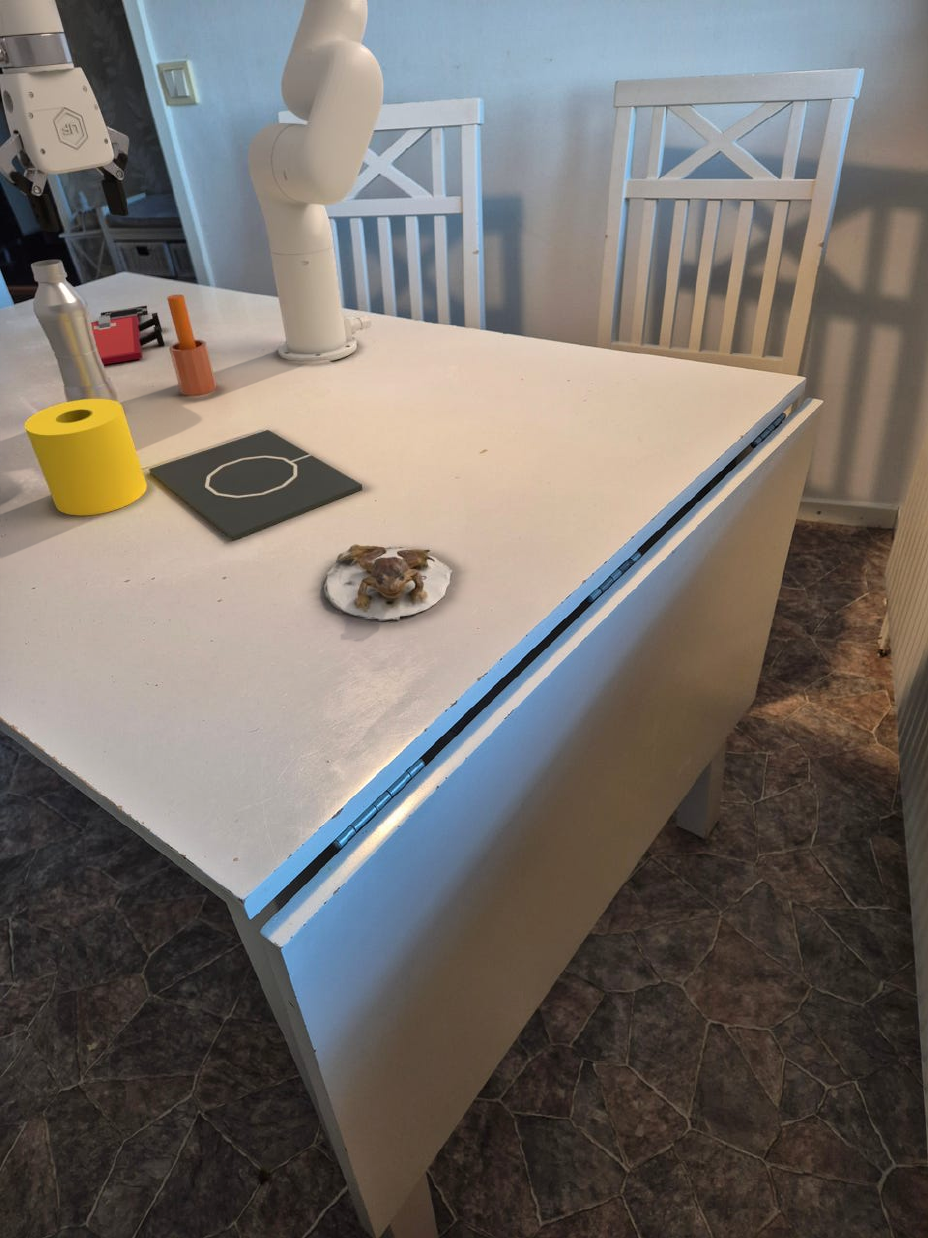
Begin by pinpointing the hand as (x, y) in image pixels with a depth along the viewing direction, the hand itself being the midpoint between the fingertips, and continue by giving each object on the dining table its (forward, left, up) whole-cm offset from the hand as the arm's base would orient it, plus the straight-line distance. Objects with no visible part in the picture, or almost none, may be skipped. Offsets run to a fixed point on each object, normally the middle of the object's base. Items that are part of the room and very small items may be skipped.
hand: (86, 222), depth 101 cm
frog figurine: (+1, +62, -24) cm, 67 cm away
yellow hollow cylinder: (+14, +23, -24) cm, 36 cm away
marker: (-8, +1, -23) cm, 25 cm away
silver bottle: (+6, -2, -24) cm, 25 cm away
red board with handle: (-10, -36, -24) cm, 44 cm away
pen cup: (-8, +1, -24) cm, 25 cm away
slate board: (0, +33, -24) cm, 41 cm away
